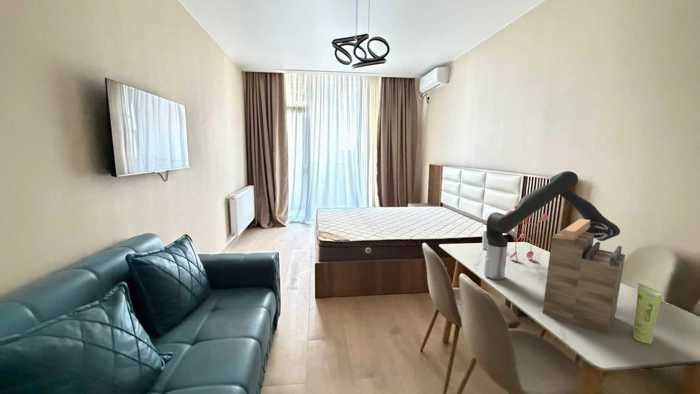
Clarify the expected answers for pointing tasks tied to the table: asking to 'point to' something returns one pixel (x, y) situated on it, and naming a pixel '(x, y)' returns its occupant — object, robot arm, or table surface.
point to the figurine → (530, 253)
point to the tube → (646, 313)
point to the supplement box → (484, 239)
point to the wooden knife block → (583, 282)
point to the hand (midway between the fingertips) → (586, 228)
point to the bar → (576, 229)
